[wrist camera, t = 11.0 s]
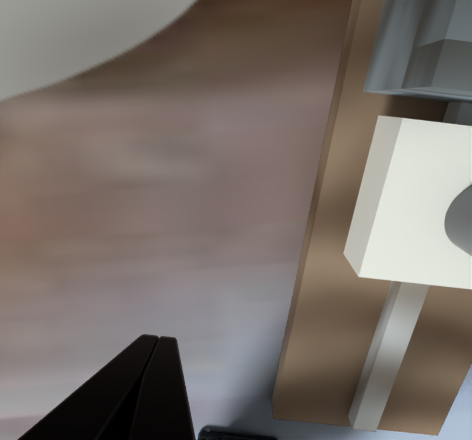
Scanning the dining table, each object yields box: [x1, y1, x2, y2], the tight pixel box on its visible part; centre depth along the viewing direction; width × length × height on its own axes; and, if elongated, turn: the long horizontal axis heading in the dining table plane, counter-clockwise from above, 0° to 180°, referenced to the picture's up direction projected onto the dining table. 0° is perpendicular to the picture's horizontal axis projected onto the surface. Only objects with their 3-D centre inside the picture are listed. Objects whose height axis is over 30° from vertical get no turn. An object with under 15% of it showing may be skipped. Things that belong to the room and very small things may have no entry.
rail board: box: [271, 0, 472, 436], centre depth 16 cm, size 30×12×8 cm, turn 174°
